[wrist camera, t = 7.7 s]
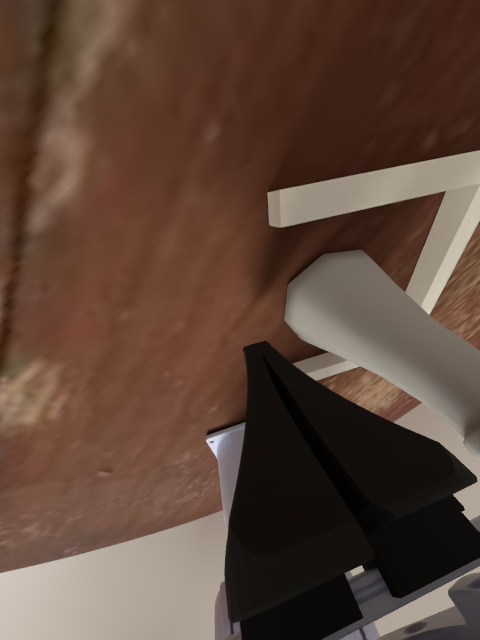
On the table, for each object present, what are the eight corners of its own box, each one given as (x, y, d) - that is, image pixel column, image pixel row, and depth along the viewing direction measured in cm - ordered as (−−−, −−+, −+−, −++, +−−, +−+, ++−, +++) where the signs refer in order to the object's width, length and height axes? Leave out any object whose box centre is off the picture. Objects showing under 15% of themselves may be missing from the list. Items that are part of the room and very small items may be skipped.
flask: (370, 229, 11) (840, 278, 3) (365, 313, 16) (563, 430, 7) (270, 277, 11) (474, 447, 3) (291, 348, 16) (405, 503, 7)
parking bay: (396, 339, 19) (410, 349, 18) (278, 378, 17) (285, 391, 16) (482, 149, 10) (521, 141, 9) (267, 192, 9) (279, 189, 8)
